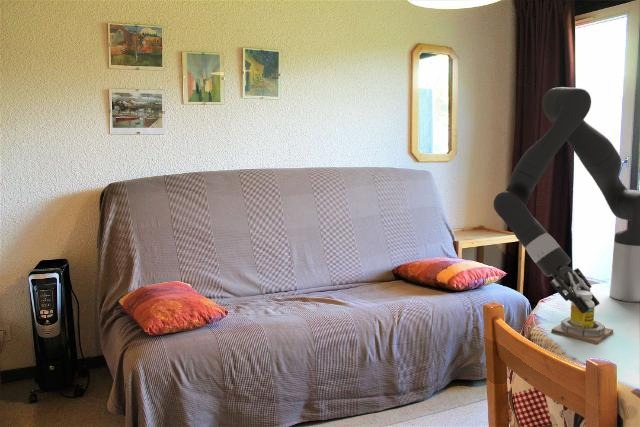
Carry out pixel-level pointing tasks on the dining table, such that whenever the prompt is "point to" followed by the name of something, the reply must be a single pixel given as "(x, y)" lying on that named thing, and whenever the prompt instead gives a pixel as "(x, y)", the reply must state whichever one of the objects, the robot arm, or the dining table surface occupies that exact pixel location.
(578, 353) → the dining table surface
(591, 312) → the supplement bottle
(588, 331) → the collar
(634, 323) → the dining table surface
